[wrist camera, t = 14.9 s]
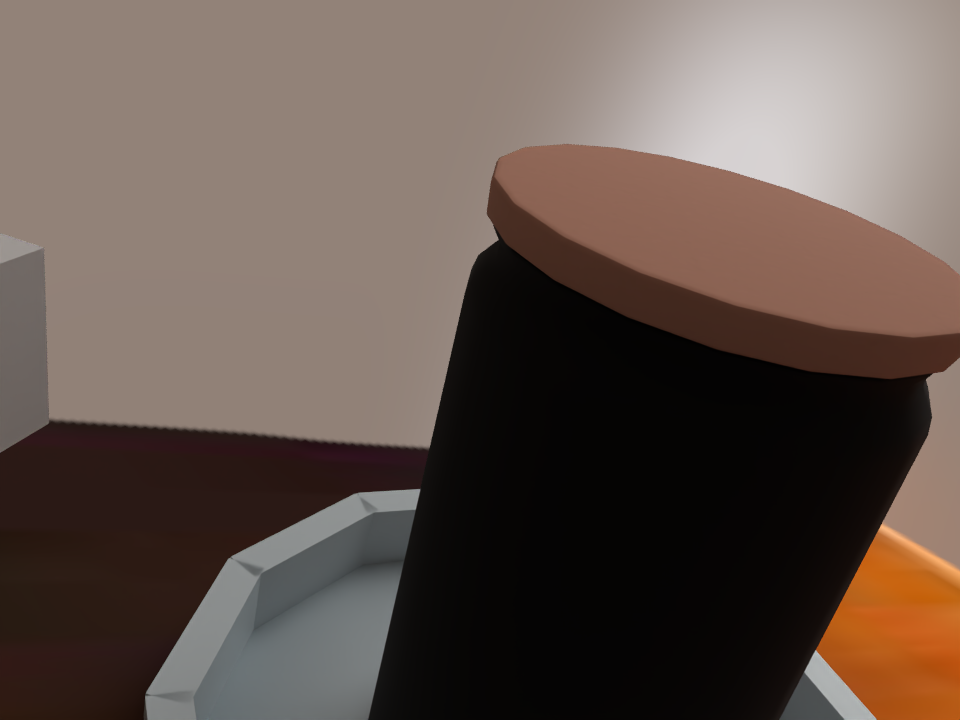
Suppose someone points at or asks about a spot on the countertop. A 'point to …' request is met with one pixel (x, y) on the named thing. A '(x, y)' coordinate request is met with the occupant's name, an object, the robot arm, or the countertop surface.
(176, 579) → the countertop surface
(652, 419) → the coffee jar
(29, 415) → the robot arm
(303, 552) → the bowl
